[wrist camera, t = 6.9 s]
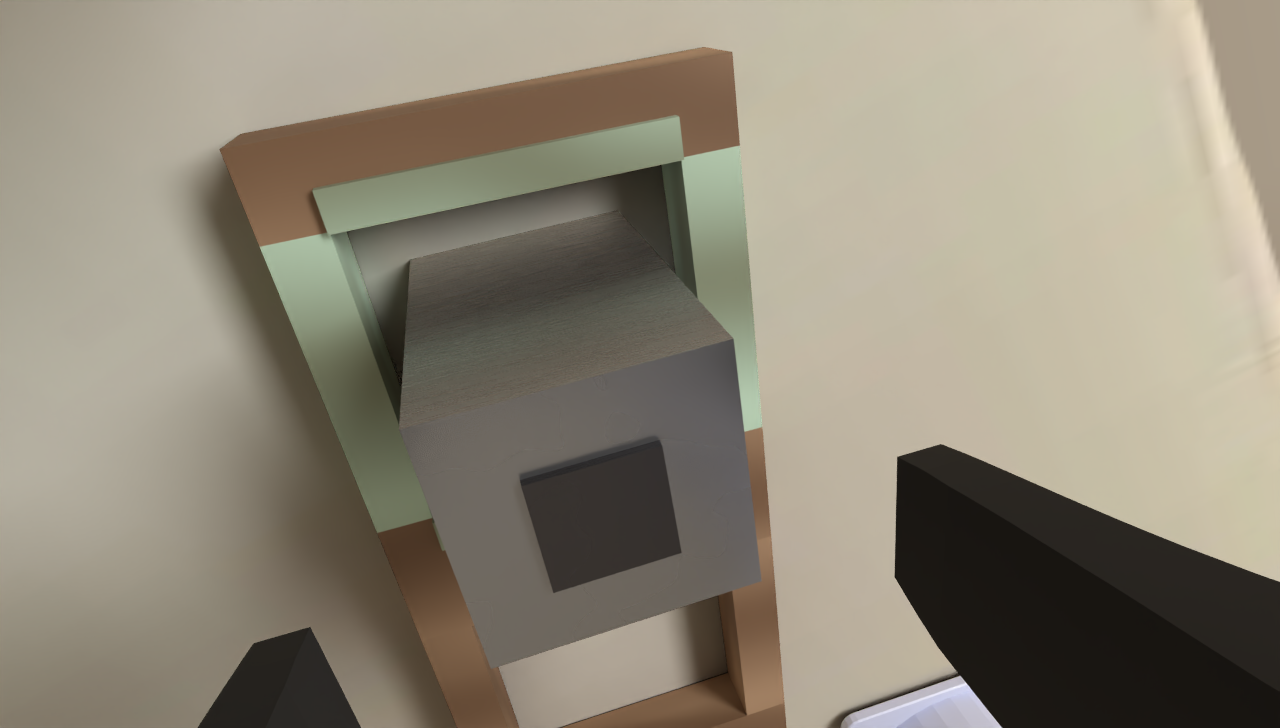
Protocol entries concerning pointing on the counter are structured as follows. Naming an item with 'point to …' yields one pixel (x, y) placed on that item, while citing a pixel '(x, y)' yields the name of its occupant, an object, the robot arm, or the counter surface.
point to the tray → (480, 172)
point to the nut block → (574, 434)
